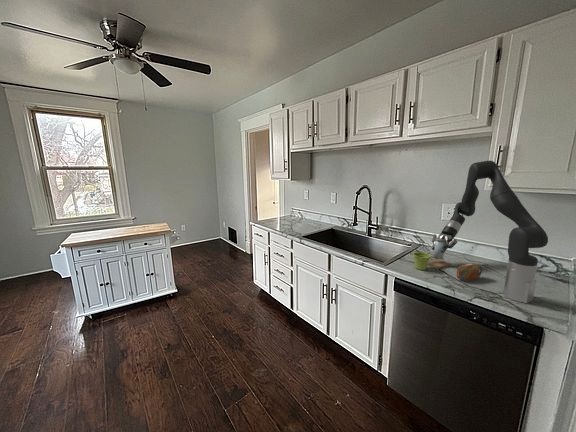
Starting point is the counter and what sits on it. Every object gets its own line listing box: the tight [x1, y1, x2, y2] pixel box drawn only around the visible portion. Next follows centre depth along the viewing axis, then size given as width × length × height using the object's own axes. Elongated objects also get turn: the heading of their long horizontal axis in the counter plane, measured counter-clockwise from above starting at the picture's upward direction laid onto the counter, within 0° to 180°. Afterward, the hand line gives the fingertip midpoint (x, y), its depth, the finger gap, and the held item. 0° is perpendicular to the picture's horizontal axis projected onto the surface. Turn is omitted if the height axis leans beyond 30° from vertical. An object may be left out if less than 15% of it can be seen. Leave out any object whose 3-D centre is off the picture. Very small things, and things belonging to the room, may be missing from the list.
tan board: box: [427, 258, 453, 270], centre depth 149 cm, size 10×12×1 cm
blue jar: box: [433, 237, 446, 260], centre depth 148 cm, size 6×6×12 cm
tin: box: [456, 262, 483, 282], centre depth 129 cm, size 15×3×8 cm, turn 105°
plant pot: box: [412, 251, 432, 271], centre depth 144 cm, size 9×9×9 cm
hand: (437, 250), depth 147 cm, fingers closed on blue jar, 5 cm apart
